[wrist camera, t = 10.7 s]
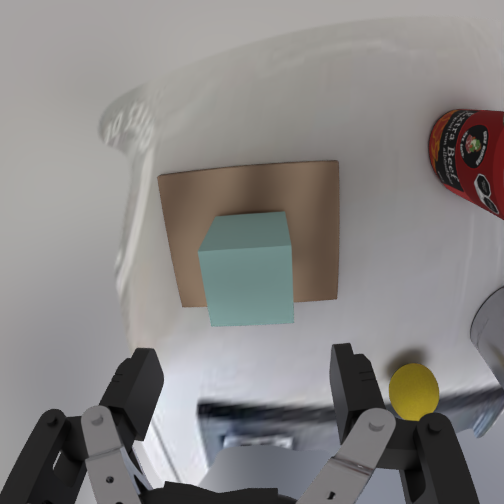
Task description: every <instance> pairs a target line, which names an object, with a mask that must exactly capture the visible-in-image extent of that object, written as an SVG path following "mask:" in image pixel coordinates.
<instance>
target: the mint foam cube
mask: <svg viewBox="0 0 504 504" xmlns="http://www.w3.org/2000/svg"><path fill="white" fill-rule="evenodd" d="M198 257H199V262H200V268H201V274H202V279H203V285H204V290H205V296H206V301H207V306H208V312H209V317H210V322H211V326H244V325H266V324H284V323H294V307H293V274H292V249H291V241H290V235H289V230H288V225H287V219H286V214H285V211H283V212H268V213H254V214H240V215H227V216H215V218H214V220H213V222H212V224H211V226H210V228H209V230H208V232H207V234H206V236H205V238H204V240H203V242H202V244H201V246H200V248H199V250H198Z"/></svg>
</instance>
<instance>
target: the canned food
mask: <svg viewBox="0 0 504 504" xmlns="http://www.w3.org/2000/svg"><path fill="white" fill-rule="evenodd" d="M429 153H430V160H431V164H432V167H433V169H434V171H435V173H436V175H437V176H438V178H439V179H440V181H441V182H442V183H443V184H444V185H445V186H446V188H447V189H449V190H450V191H452V192H453V193H455V194H457V195H459V196H461V197H463V198H465V199H466V200H468V201H470V202H472V203H474V204H476V205H478V206H480V207H481V208H483V209H485V210H487V211H489V212H490V213H492V214H494V215H496V216H497V217H499V218H501V219H502V220H504V112H503V111H489V110H469V109H458V110H453V111H451V112H449V113H447V114H445V115H444V116H443V117H441V118H440V119H439V120H438V121H437V123H436V124H435V126H434V128H433V130H432V133H431V137H430V142H429Z"/></svg>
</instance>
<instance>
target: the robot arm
mask: <svg viewBox="0 0 504 504" xmlns="http://www.w3.org/2000/svg"><path fill="white" fill-rule="evenodd" d="M471 340H472V342H473V344H474V346H475V347H476V348H477V350H478V351H479V353H480V354H481V356H482V357H483V359H484V360H485V362H486V363H487V365H488V366H489V368H490V369H491V371H492V372H493V374H494V375H495V377H496V378H497V380H498V382H499V383H500V385H501V386H502V388H503V390H504V287H503V288H501V289H500V290H498V291H497V292H495V293H494V294H493V295H492V296H491V297H489V299H488V300H487V301H486V302H485V303H484V304H483V306H482V307H481V309H480V310H479V312H478V313H477V315H476V317H475V319H474V322H473V324H472V328H471ZM163 384H164V375H163V371H162V368H161V366H160V363H159V360H158V357H157V354H156V352H155V350H154V349H153V348H136V350H135V352H134V353H133V355H132V357H131V358H127V359H126V360H124V361H123V362H122V363H121V364H120V365H119V367H118V369H117V370H116V372H115V375H114V376H113V378H112V381H111V382H110V384H109V386H108V387H107V389H106V391H105V393H104V395H103V397H102V400H101V401H100V403H99V405H98V406H93V407H90V408H89V409H87V410H86V411H85V412H84V413H83V415H82V416H75V417H66V416H65V415H64V413H63V412H62V411H61V410H59V409H51V410H48V411H46V412H45V413H44V414H42V416H41V417H40V419H39V421H38V422H37V424H36V426H35V428H34V429H33V431H32V433H31V435H30V436H29V438H28V440H27V442H26V444H25V446H24V448H23V449H22V451H21V453H20V455H19V457H18V459H17V461H16V463H15V465H14V467H13V469H12V471H11V473H10V475H9V477H8V479H7V481H6V483H5V485H4V487H3V490H2V491H1V494H0V504H75V501H76V499H77V496H78V493H79V491H80V487H81V485H82V483H83V480H84V477H85V475H86V472H87V471H88V474H89V478H90V481H91V485H92V489H93V492H94V495H95V498H96V501H97V504H355V503H356V501H357V500H358V498H359V496H360V495H361V493H362V492H363V490H364V488H365V486H366V485H367V483H368V481H369V480H370V478H371V476H372V474H373V473H374V470H375V469H376V468H384V469H396V470H399V473H400V477H401V482H402V486H403V491H404V496H405V501H406V504H480V503H479V500H478V497H477V493H476V490H475V487H474V484H473V481H472V478H471V475H470V472H469V469H468V466H467V464H466V461H465V458H464V455H463V452H462V450H461V447H460V444H459V442H458V439H457V437H456V434H455V431H454V429H453V426H452V424H451V422H450V420H449V419H448V418H447V417H446V416H445V415H443V414H440V413H428V414H426V415H424V416H422V417H421V418H420V420H419V421H412V420H402V419H398V418H396V417H394V416H393V415H392V414H391V413H390V412H389V411H387V409H386V407H385V405H384V402H383V398H382V395H381V392H380V389H379V386H378V383H377V380H376V377H375V374H374V372H373V368H372V365H371V362H370V361H369V360H368V359H367V358H366V357H365V355H364V354H355V355H354V354H353V350H352V347H351V344H350V343H344V344H333V345H332V350H331V361H330V385H331V391H332V396H333V402H334V408H335V414H336V420H337V426H338V432H339V439H340V445H342V446H341V447H340V449H339V450H338V452H337V453H336V455H335V456H334V457H331V458H330V459H329V460H328V461H327V463H326V464H325V465H324V467H323V468H322V470H321V471H320V472H319V474H318V475H317V476H316V478H315V479H314V481H313V482H312V483H311V484H310V486H309V487H308V488H307V490H306V491H305V492H304V494H303V495H302V496H301V497H300V499H299V500H296V499H293V498H291V497H288V496H284V495H279V494H278V489H277V488H247V489H242V490H237V491H230V492H224V493H216V492H213V491H209V490H206V489H203V488H200V487H197V486H194V485H191V484H183V483H175V482H168V481H165V484H164V487H163V488H156V489H153V488H152V486H151V485H150V483H149V482H148V480H147V478H146V475H145V473H144V471H143V469H142V466H141V464H140V462H139V459H138V457H137V454H136V452H135V450H134V447H133V446H132V445H133V443H134V440H138V441H144V439H145V436H146V433H147V430H148V427H149V424H150V421H151V418H152V415H153V413H154V410H155V407H156V404H157V401H158V398H159V396H160V393H161V390H162V387H163ZM59 451H60V452H61V454H60V456H59V459H58V461H57V463H56V465H55V467H54V470H53V464H54V462H55V460H56V458H57V456H58V453H59Z"/></svg>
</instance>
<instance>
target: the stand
mask: <svg viewBox="0 0 504 504" xmlns="http://www.w3.org/2000/svg"><path fill="white" fill-rule="evenodd" d="M157 178H158V185H159V191H160V197H161V203H162V209H163V215H164V220H165V226H166V231H167V236H168V242H169V247H170V252H171V257H172V262H173V266H174V271H175V276H176V281H177V285H178V290H179V294H180V298H181V303H182V307H208V306H207V301H206V296H205V290H204V285H203V279H202V274H201V268H200V262H199V257H198V250H199V248H200V246H201V244H202V242H203V240H204V238H205V236H206V234H207V232H208V230H209V228H210V226H211V224H212V222H213V220H214V218H215V216H227V215H240V214H254V213H268V212H283V211H285V214H286V219H287V225H288V230H289V235H290V241H291V249H292V274H293V302H307V301H321V300H333V299H337V292H338V269H339V162H338V161H336V160H334V161H306V162H287V163H271V164H257V165H245V166H233V167H223V168H213V169H204V170H195V171H187V172H179V173H171V174H164V175H160V176H158V177H157Z"/></svg>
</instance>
